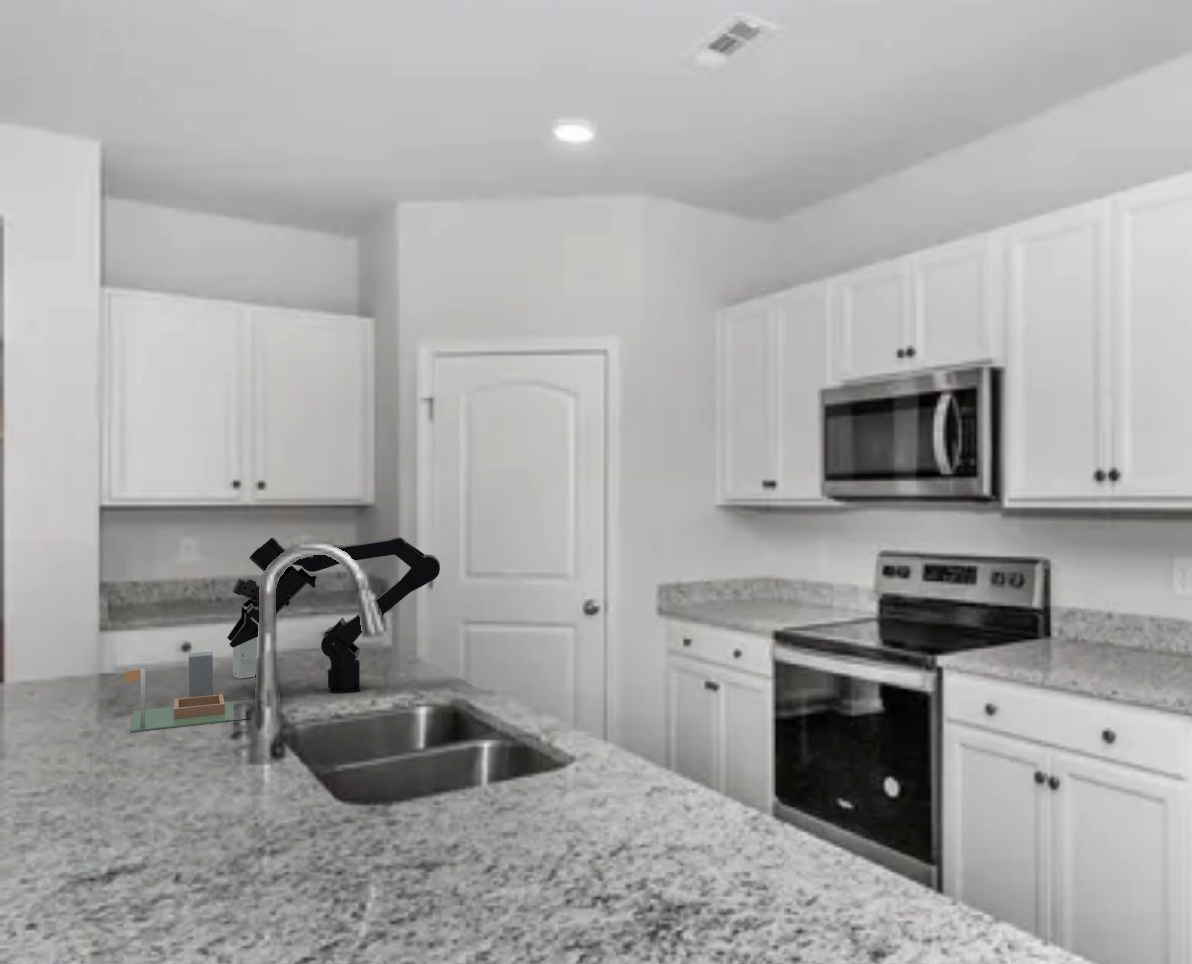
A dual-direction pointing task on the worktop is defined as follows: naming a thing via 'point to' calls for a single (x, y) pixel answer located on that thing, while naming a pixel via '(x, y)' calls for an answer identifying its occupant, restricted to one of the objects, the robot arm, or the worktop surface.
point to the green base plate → (179, 709)
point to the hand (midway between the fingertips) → (229, 642)
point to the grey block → (200, 674)
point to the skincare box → (245, 659)
